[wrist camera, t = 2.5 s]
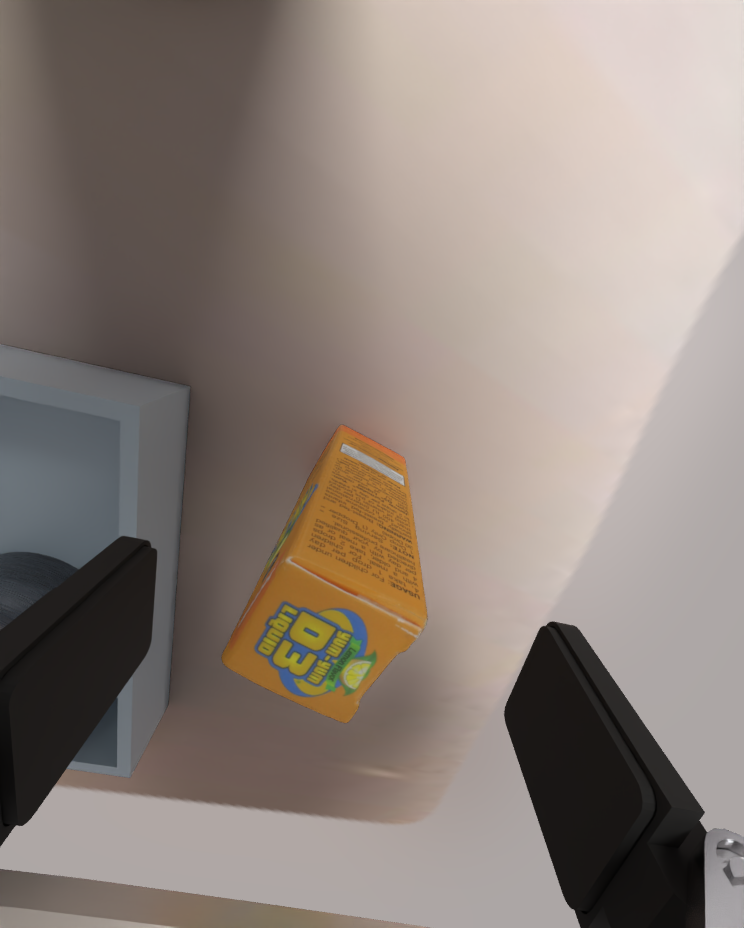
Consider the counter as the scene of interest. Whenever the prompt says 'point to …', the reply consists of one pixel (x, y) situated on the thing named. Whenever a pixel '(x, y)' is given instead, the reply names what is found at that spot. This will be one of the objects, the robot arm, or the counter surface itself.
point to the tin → (27, 581)
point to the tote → (97, 503)
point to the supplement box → (336, 584)
